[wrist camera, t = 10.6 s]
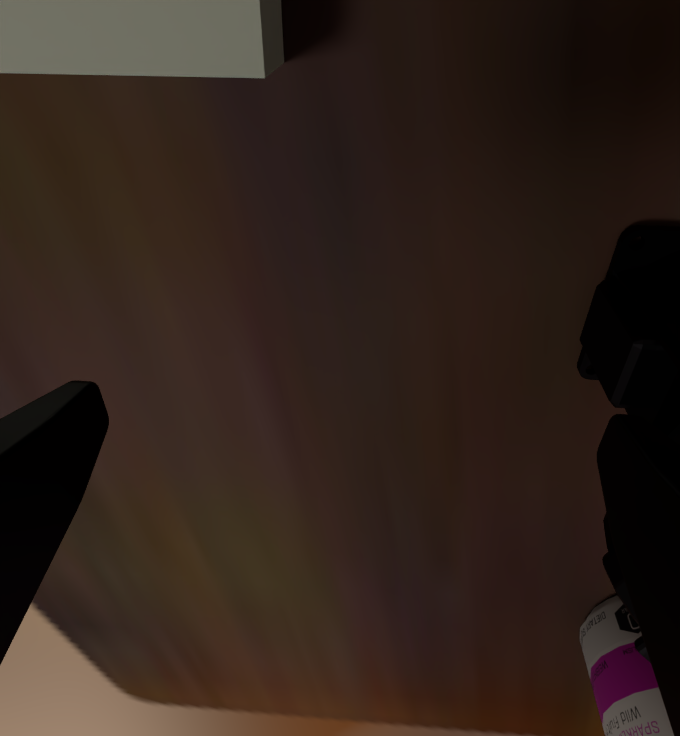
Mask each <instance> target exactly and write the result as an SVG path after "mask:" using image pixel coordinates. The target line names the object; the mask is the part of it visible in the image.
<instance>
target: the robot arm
mask: <svg viewBox="0 0 680 736" xmlns="http://www.w3.org/2000/svg"><path fill="white" fill-rule="evenodd" d="M639 236H640V237H641V240H640V241H639V243H637V244H635V245H632V246H630V245H629V243H630V241H631V240H632V239H633V238H635V237H639ZM580 342H581V344H582V346H583V347H582V350H581V353H580V356H579V359H578V362H577V368H578V371H579V373H580V375H581V376H582V377H583V378H585V379H590V380H599V381H600V383H601V385H602V387H603V389H604V391H605V393H606V395H607V397H608V399H609V401H610V402H611V403H612V405H613V406H614V407H616V408H625V410H626V412H627V414H628V415H626V414H616V415H614V416H612V417H611V419H610V420H609V423H608V425H607V428H606V430H605V432H604V435H603V437H602V440H601V442H600V445H599V447H598V451H597V464H598V469H599V475H600V480H601V485H602V490H603V496H604V501H605V506H606V514H605V517H604V520H603V522H604V529H605V536H606V543H607V548H608V551H609V552H607V553H606V554H605V555H604V556H603V559H602V560H603V565H604V568H605V570H606V572H607V575H608V577H609V579H610V581H611V583H612V585H613V587H614V589H615V591H616V593H617V595H618V596H619V598H620V599H621V601H622V602H623V604H624V605H625V607H626V609H627V610H628V612H629V613H630V615H631V616H632V618H633V619H634V620H635V621H636V622H637V624H638V625H639V627H640V630H641V634H642V636H640V637H639V638H637V639H636V640H635V641H634V645H635V648H636V649H637V651H638V652H639V653H640V654H641V655H642V656H643V657H644V658H645V659H647V660H648V661H649V662H650V663H651V665H652V668H653V671H654V674H655V678H656V681H657V684H658V687H659V690H660V693H661V696H662V699H663V703H664V706H665V709H666V712H667V715H668V718H669V721H670V725H671V728H672V731H673V734H674V736H680V227H672V226H645V225H636V226H631V227H629V228H627V229H625V230H624V231H623V232H622V233H621V235H620V237H619V239H618V242H617V245H616V248H615V251H614V254H613V257H612V260H611V263H610V266H609V269H608V272H607V275H606V278H605V280H603V281H602V282H601V283H600V284H599V285H598V286H597V287H596V290H595V293H594V296H593V299H592V302H591V305H590V309H589V312H588V315H587V318H586V321H585V324H584V327H583V330H582V333H581V336H580ZM590 365H592V367H593V368H591V369H586V368H587V367H588V366H590ZM108 425H109V417H108V413H107V410H106V407H105V404H104V401H103V398H102V395H101V392H100V389H99V387H98V385H97V384H96V383H94V382H91V381H70V382H68V383H66V384H64V385H62V386H61V387H59V388H57V389H55V390H53V391H51V392H49V393H48V394H46V395H44V396H42V397H40V398H38V399H36V400H35V401H33V402H31V403H29V404H27V405H25V406H23V407H22V408H20V409H18V410H16V411H14V412H12V413H10V414H9V415H7V416H5V417H3V418H1V419H0V664H1V662H2V660H3V658H4V656H5V654H6V652H7V650H8V648H9V646H10V644H11V642H12V640H13V638H14V636H15V634H16V632H17V630H18V628H19V626H20V624H21V622H22V620H23V618H24V616H25V614H26V612H27V610H28V608H29V606H30V604H31V602H32V600H33V598H34V596H35V594H36V592H37V590H38V588H39V586H40V584H41V582H42V580H43V578H44V576H45V574H46V572H47V570H48V568H49V566H50V564H51V562H52V560H53V558H54V556H55V554H56V552H57V550H58V548H59V545H60V543H61V541H62V539H63V537H64V535H65V533H66V531H67V529H68V527H69V525H70V523H71V521H72V519H73V517H74V515H75V513H76V511H77V509H78V507H79V505H80V502H81V500H82V498H83V495H84V493H85V490H86V488H87V485H88V482H89V479H90V477H91V474H92V471H93V468H94V466H95V463H96V460H97V457H98V455H99V452H100V449H101V446H102V444H103V441H104V438H105V435H106V433H107V430H108Z"/></svg>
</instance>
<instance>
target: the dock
mask: <svg viewBox="0 0 680 736" xmlns="http://www.w3.org/2000/svg"><path fill="white" fill-rule="evenodd" d="M283 63H284V49H283V30H282V10H281V0H0V73H31V74H81V75H132V76H183V77H233V78H266V77H267V76H268V75H269V74H271V73H272V72H273V71H275V70H276V69H277V68H278V67H280V66H281V65H282V64H283Z"/></svg>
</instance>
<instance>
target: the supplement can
mask: <svg viewBox="0 0 680 736" xmlns="http://www.w3.org/2000/svg"><path fill="white" fill-rule="evenodd" d="M640 636H642V634H641V630H640V627H639V625H638V624H637V622H636V621H635V620H634V619H633V618H632V616H631V615H630V613H629V612H628V610H627V609H626V607H625V605H624V604H623V602H622V601H621V599H620V598H619V596H615V597H612V598H609V599H607V600H606V601H604V602H603V603H601V604H599V605H598V606H596V607H595V608H594V609H593V610H592V612H591V613H590V614H589V616H588V617H587V620H586V621H585V622H584V624H583V625H582V626H581V628H580V643H581V647H582V650H583V654H584V658H585V662H586V665H587V669H588V673H589V676H590V680H591V684H592V688H593V691H594V695H595V699H596V703H597V706H598V710H599V714H600V718H601V721H602V725H603V729H604V733H605V736H674V734H673V731H672V728H671V725H670V721H669V718H668V715H667V712H666V709H665V706H664V703H663V699H662V696H661V693H660V690H659V687H658V684H657V681H656V678H655V674H654V671H653V668H652V665H651V663H650V662H649V661H648V660H647V659H645V658H644V657H643V656H642V655H641V654H640V653H639V652H638V651H637V649H636V648H635V645H634V641H635V640H636V639H637V638H639V637H640Z"/></svg>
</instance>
